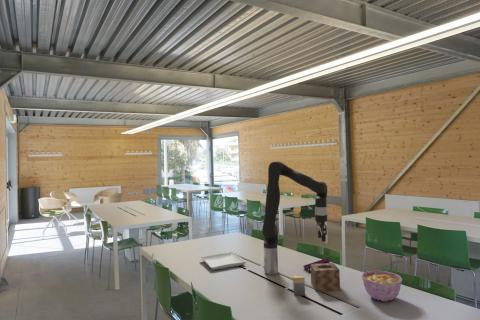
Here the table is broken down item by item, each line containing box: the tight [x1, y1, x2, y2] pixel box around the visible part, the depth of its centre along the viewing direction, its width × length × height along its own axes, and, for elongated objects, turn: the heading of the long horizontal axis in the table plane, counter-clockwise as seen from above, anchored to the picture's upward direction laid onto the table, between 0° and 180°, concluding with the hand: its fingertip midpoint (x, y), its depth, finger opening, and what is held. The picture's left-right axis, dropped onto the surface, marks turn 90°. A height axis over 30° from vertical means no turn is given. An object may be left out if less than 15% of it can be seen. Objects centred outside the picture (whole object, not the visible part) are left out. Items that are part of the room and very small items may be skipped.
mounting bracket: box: [303, 257, 331, 269], centre depth 225 cm, size 9×8×18 cm
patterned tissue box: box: [310, 262, 341, 292], centre depth 197 cm, size 14×12×12 cm
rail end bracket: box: [292, 275, 306, 297], centre depth 188 cm, size 6×3×10 cm, turn 90°
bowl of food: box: [361, 270, 403, 302], centre depth 179 cm, size 20×20×12 cm
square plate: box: [199, 252, 247, 271], centre depth 248 cm, size 27×27×4 cm
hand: (321, 239), depth 210 cm, fingers open, 8 cm apart
